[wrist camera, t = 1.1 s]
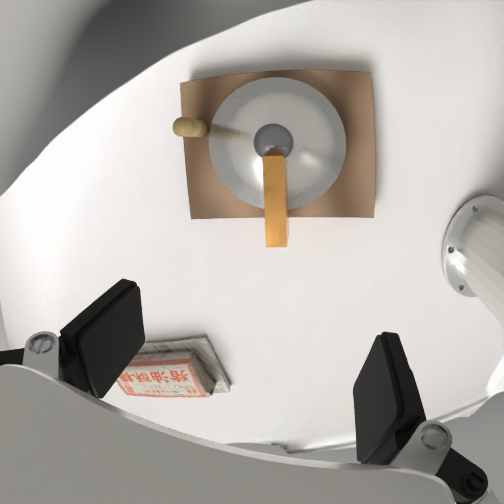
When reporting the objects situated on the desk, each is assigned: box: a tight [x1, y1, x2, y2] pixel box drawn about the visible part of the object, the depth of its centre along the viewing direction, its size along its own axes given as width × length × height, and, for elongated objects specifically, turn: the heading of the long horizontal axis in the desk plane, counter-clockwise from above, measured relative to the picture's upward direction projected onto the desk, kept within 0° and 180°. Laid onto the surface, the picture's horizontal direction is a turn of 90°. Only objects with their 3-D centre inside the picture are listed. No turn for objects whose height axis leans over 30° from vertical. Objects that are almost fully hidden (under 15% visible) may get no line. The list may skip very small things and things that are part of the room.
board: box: [173, 70, 375, 219], centre depth 23 cm, size 18×14×7 cm
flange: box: [209, 77, 346, 247], centre depth 23 cm, size 14×12×5 cm
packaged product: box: [116, 337, 230, 397], centre depth 39 cm, size 18×5×10 cm
